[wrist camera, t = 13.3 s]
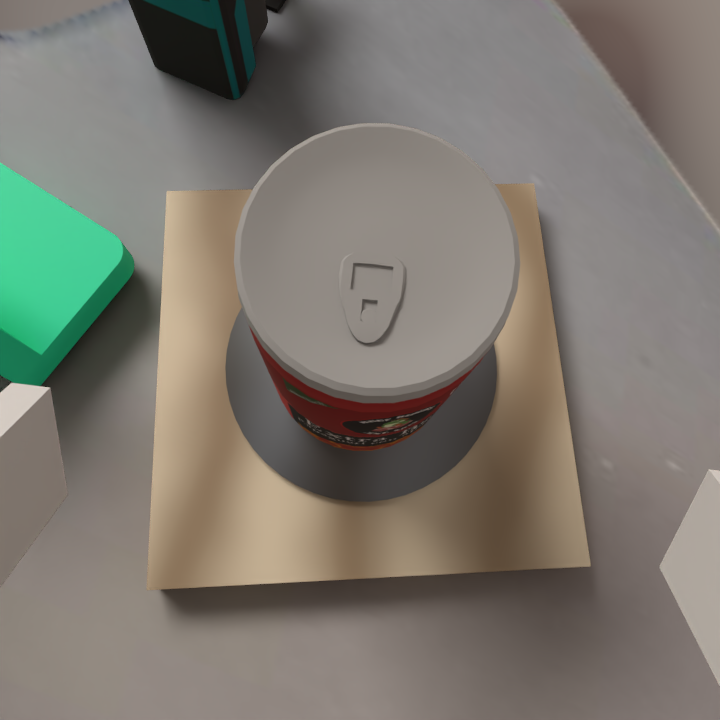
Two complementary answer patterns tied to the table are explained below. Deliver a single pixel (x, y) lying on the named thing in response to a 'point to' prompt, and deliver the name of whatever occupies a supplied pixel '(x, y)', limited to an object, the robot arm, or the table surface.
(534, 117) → the table surface
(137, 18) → the surveillance camera
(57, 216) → the camera mount
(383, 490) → the wooden square board
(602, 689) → the table surface
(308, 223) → the canned food
